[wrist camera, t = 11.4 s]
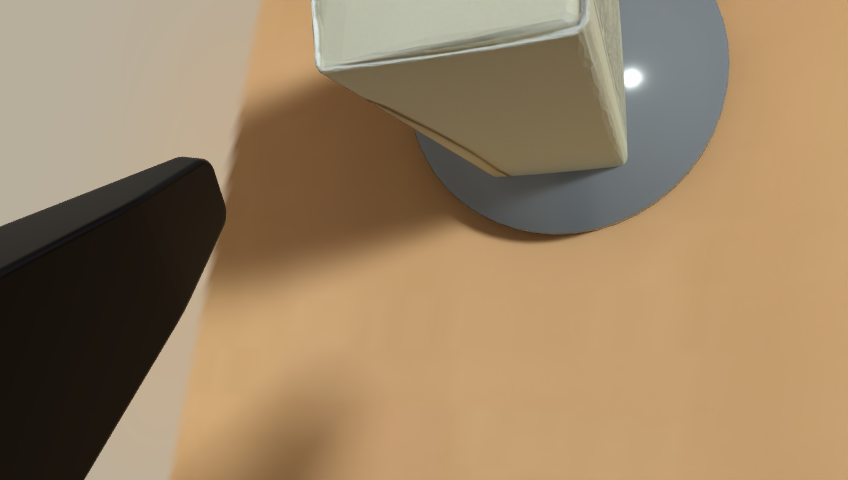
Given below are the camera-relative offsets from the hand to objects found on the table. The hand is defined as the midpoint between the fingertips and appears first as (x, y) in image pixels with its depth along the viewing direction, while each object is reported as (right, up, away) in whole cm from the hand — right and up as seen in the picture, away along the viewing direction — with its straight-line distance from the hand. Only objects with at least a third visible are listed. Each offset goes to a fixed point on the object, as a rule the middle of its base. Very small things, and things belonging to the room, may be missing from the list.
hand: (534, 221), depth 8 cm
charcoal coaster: (+3, +5, +14) cm, 15 cm away
